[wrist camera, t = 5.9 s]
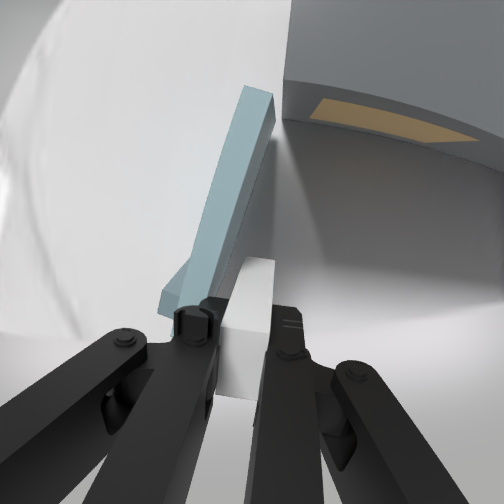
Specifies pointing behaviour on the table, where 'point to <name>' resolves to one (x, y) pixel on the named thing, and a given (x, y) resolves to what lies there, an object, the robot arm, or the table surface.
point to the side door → (224, 203)
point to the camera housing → (401, 72)
